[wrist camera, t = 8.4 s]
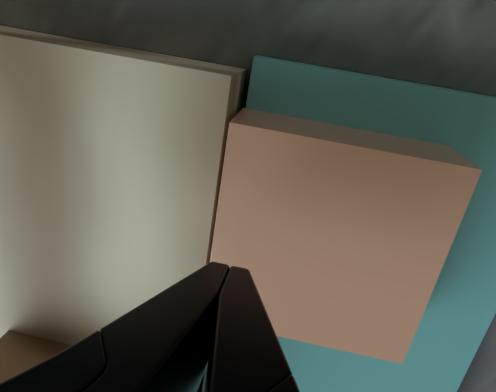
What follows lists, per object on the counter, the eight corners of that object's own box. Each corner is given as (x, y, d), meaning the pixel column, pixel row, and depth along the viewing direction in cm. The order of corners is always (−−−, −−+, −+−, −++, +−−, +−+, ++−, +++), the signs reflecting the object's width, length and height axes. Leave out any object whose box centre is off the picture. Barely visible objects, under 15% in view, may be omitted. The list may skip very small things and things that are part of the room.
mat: (197, 439, 20) (191, 462, 19) (258, 55, 13) (253, 56, 12) (390, 487, 20) (395, 514, 18) (567, 109, 12) (593, 115, 11)
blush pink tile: (217, 276, 15) (201, 319, 13) (243, 107, 13) (229, 122, 10) (387, 313, 15) (402, 364, 12) (448, 145, 12) (482, 170, 10)
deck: (-25, 378, 21) (-76, 429, 18) (-80, 11, 14) (-174, 3, 11) (192, 431, 20) (174, 493, 17) (246, 69, 13) (231, 75, 10)
